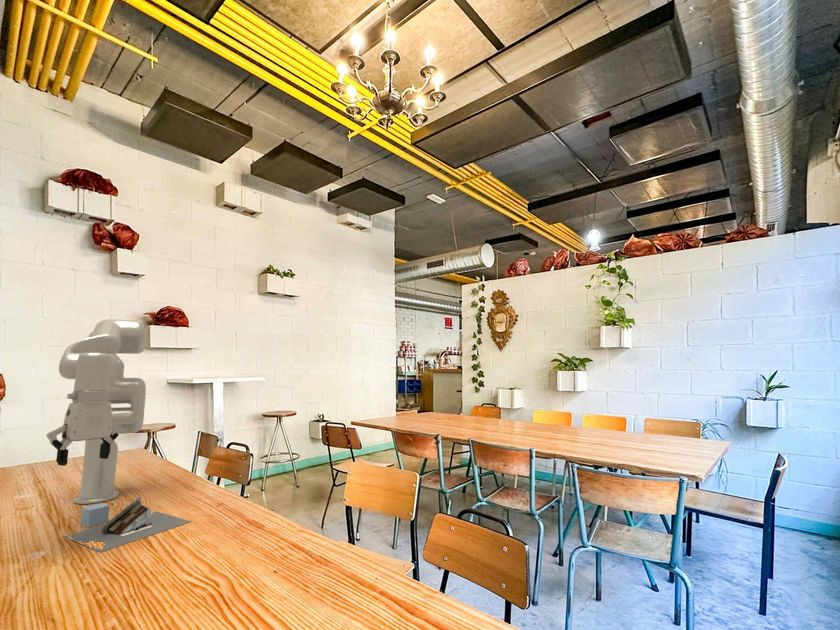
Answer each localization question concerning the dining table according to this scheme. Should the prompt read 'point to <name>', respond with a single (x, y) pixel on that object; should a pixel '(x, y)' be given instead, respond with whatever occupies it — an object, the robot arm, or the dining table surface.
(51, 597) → the dining table surface
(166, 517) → the letter mat
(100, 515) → the cube
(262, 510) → the dining table surface
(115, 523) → the chocolate cake
